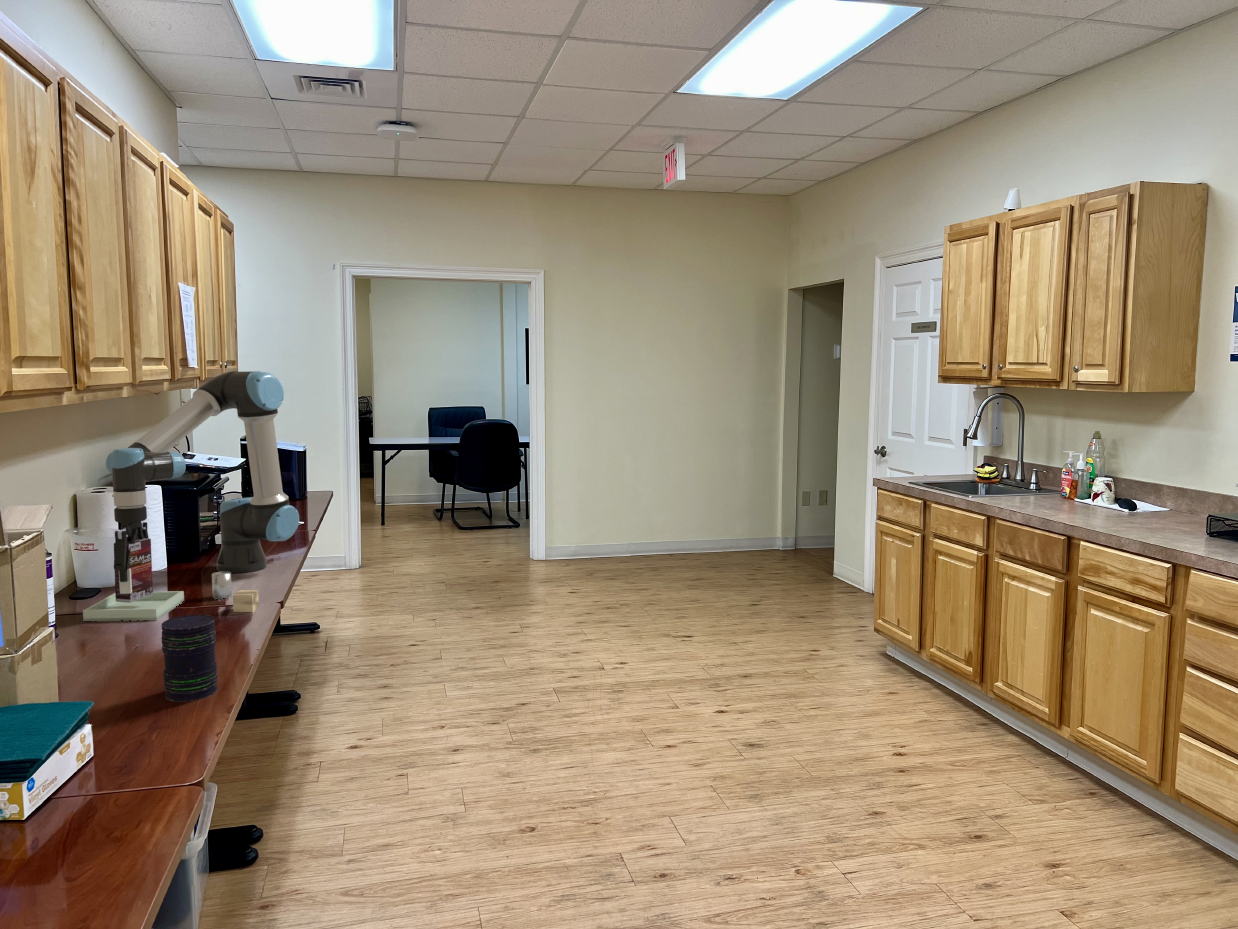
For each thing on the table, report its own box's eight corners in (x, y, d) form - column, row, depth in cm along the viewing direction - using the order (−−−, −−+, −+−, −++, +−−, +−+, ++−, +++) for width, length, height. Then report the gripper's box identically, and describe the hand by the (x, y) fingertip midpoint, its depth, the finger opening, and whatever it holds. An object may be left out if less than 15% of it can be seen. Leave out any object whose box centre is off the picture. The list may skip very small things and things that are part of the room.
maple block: (240, 608, 235) (239, 590, 234) (258, 607, 235) (258, 590, 235) (233, 613, 230) (232, 595, 229) (252, 613, 230) (252, 595, 230)
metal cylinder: (216, 595, 247) (215, 571, 246) (234, 594, 248) (233, 571, 247) (210, 599, 242) (209, 575, 241) (228, 599, 243) (227, 575, 242)
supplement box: (130, 603, 225) (127, 544, 223) (115, 602, 226) (111, 543, 224) (154, 594, 234) (151, 538, 232) (139, 593, 234) (136, 537, 233)
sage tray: (116, 602, 238) (116, 592, 238) (184, 601, 240) (183, 591, 240) (83, 621, 220) (82, 610, 220) (156, 620, 222) (156, 609, 222)
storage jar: (168, 705, 167) (164, 632, 165) (160, 690, 175) (156, 619, 173) (223, 695, 173) (220, 623, 171) (213, 680, 181) (210, 611, 179)
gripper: (134, 499, 237) (138, 578, 240) (94, 513, 216) (99, 599, 218) (162, 499, 238) (166, 578, 241) (125, 513, 216) (130, 599, 219)
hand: (134, 588), depth 229 cm, fingers closed on supplement box, 9 cm apart
